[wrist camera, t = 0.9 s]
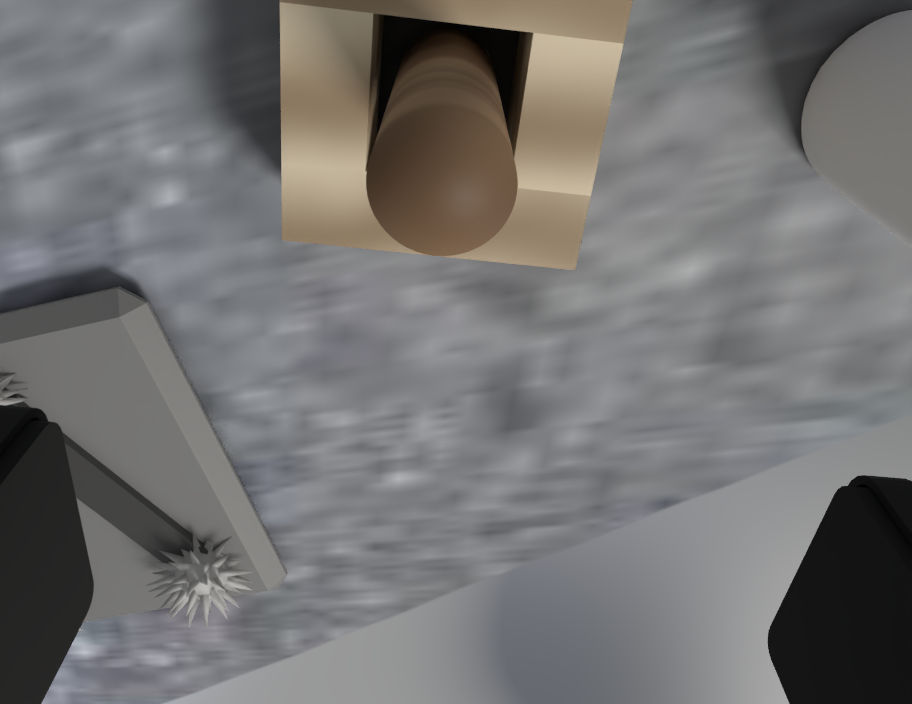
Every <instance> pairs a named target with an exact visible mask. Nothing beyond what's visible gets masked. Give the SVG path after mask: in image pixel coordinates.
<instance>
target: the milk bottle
mask: <svg viewBox="0 0 912 704" xmlns="http://www.w3.org/2000/svg"><path fill="white" fill-rule="evenodd" d="M801 135H802V142H803V147H804V151H805V154H806V156H807V158H808V161H809V162H810V164H811V166H812V167H813V169H814V170H815V171H816V172H817V174H818V175H819V176H820V177H821V178H823V179H824V180H825V181H826V182H827V183H828V184H829V185H830V186H832V187H833V188H834V189H835V190H837V191H838V192H839V193H841V194H842V195H843V196H844V197H846V198H847V199H848V200H850V201H851V202H852V203H853V204H855V205H856V206H857V207H859V208H860V209H861V210H862V211H864V212H865V213H866V214H868V215H869V216H870V217H872V218H873V219H874V220H876V221H877V222H878V223H879V224H881V225H882V226H883V227H885V228H886V229H887V230H889V231H890V232H891V233H892V234H894V235H895V236H896V237H898V238H899V239H900V240H902V241H903V242H904V243H906V244H907V245H908V246H910V247H911V248H912V10H907V11H903V12H898V13H895V14H891V15H888V16H886V17H883V18H881V19H878V20H876V21H874V22H872V23H871V24H869V25H867V26H865V27H864V28H862V29H860V30H859V31H858V32H856V33H855V34H853V35H852V36H850V37H849V38H848V39H847V40H846V41H845V42H844V43H843V44H841V45H840V46H839V47H838V48H837V49H836V50H835V51H834V52H833V53H832V54H831V55H830V57H829V58H828V59H827V61H826V62H825V63H824V64H823V65H822V66H821V68H820V70H819V72H818V73H817V75H816V77H815V79H814V80H813V82H812V84H811V86H810V89H809V92H808V94H807V97H806V99H805V103H804V109H803V113H802V121H801Z"/></svg>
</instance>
